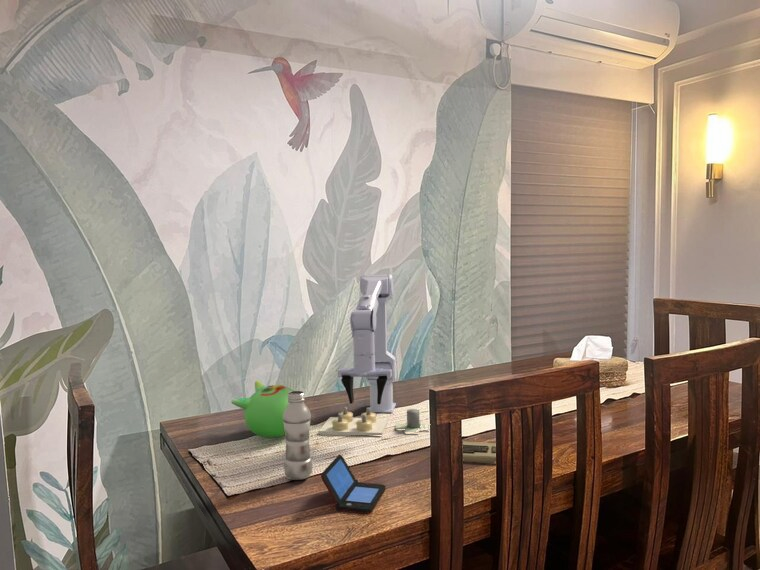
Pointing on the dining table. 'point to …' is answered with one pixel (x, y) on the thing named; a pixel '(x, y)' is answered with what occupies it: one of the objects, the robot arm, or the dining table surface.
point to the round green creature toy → (265, 409)
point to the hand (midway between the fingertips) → (365, 402)
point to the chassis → (354, 424)
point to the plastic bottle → (297, 437)
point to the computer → (479, 452)
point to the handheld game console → (350, 488)
